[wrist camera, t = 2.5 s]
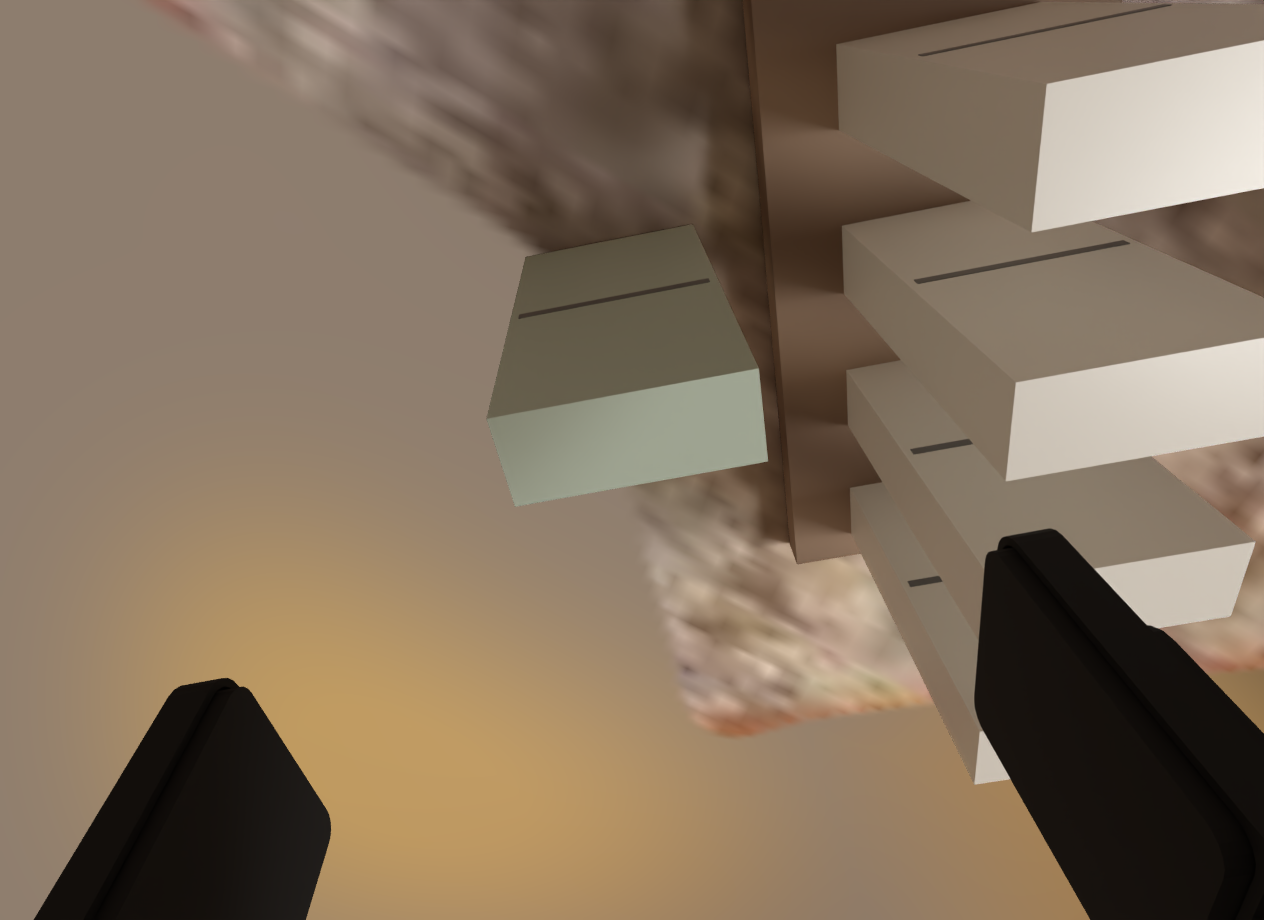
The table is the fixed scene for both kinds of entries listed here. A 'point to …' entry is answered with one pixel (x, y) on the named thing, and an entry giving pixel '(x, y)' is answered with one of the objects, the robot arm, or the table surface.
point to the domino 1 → (925, 622)
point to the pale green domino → (623, 371)
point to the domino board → (825, 238)
